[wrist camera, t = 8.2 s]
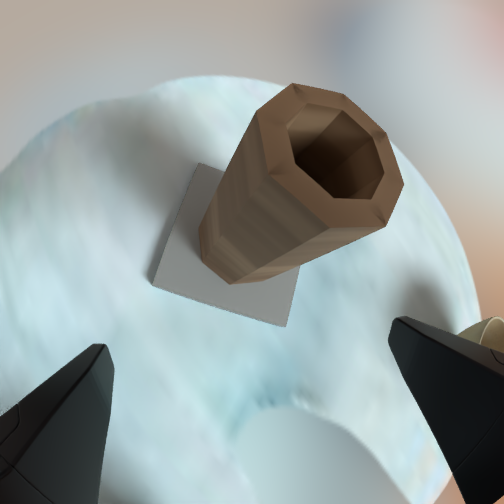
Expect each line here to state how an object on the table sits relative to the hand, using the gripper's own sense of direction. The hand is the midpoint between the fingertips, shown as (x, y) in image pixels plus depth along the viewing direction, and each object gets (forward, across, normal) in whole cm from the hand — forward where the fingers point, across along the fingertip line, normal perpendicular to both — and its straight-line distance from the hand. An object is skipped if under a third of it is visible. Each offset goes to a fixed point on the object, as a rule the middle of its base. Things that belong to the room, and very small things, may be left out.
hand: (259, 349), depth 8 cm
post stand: (+15, -1, +2) cm, 15 cm away
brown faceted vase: (+14, -1, +2) cm, 14 cm away
